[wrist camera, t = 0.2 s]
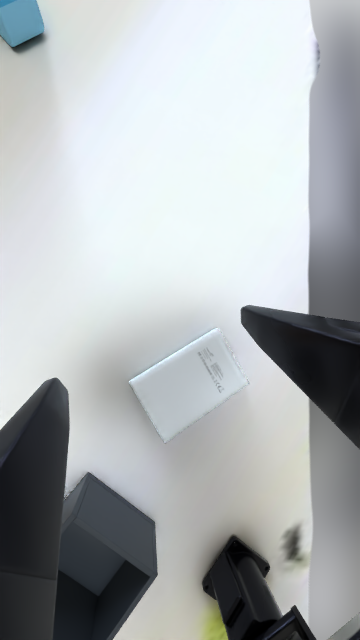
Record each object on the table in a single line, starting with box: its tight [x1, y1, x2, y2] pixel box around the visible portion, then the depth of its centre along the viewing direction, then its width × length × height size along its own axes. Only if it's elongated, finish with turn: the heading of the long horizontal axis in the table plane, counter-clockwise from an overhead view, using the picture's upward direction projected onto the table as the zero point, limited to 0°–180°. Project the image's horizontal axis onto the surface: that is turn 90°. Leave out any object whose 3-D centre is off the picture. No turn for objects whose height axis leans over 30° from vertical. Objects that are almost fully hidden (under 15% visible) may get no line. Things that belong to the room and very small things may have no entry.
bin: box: [52, 472, 158, 640], centre depth 19 cm, size 10×9×5 cm
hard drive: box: [129, 328, 249, 443], centre depth 23 cm, size 2×8×12 cm
